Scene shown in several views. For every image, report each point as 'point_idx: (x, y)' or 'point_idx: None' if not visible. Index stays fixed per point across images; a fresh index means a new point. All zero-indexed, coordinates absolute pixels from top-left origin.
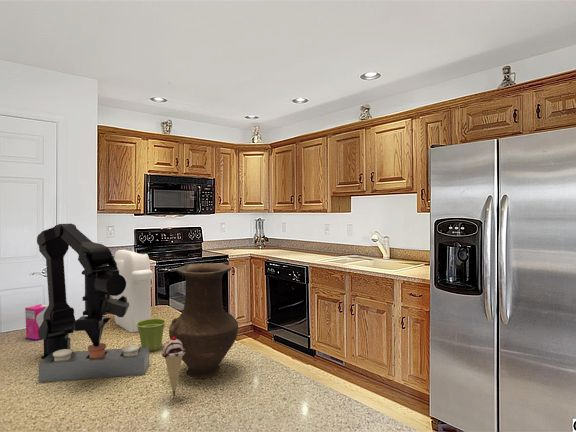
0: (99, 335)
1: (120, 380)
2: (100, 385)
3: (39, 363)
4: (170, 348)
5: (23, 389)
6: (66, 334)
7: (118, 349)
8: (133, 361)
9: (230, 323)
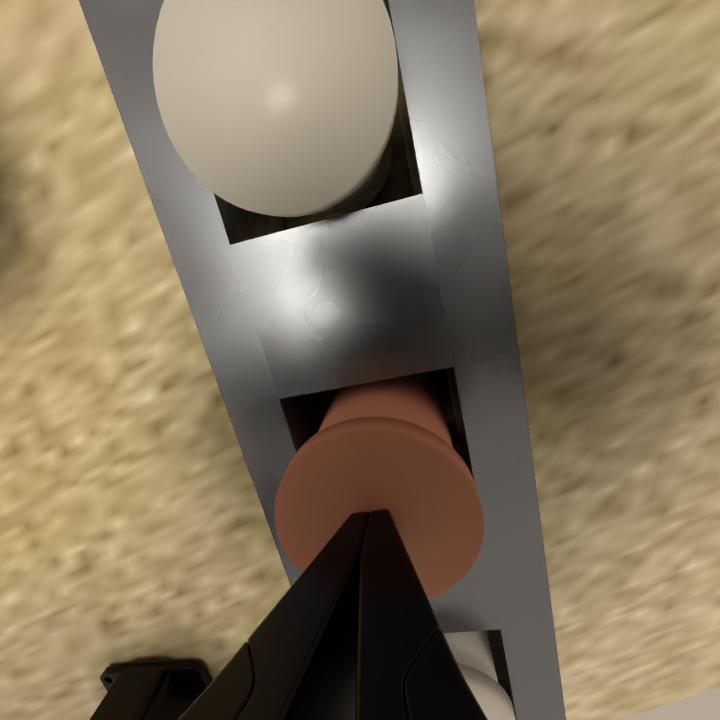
0: (441, 635)
1: (540, 138)
2: (620, 261)
3: None
4: None
5: (610, 660)
6: None
7: (217, 318)
8: None
9: None
